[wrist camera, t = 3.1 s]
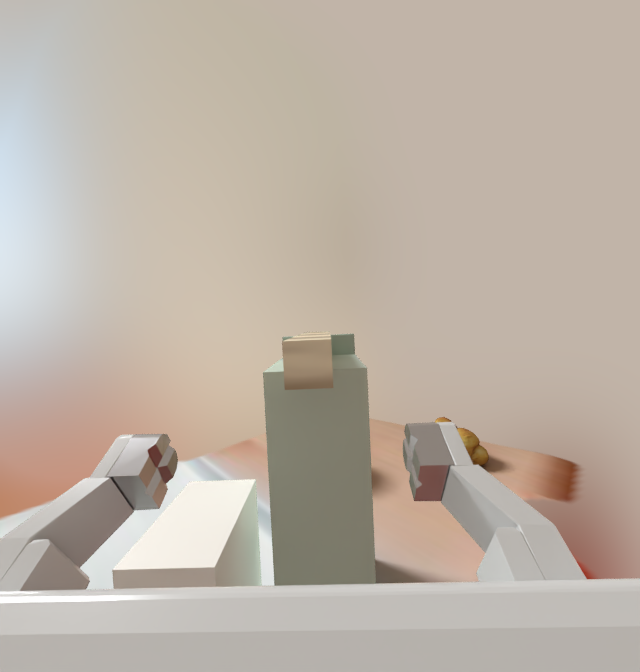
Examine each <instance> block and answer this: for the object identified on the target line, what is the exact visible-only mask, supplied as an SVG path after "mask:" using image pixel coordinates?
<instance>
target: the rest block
mask: <svg viewBox="0 0 640 672" xmlns="http://www.w3.org/2000/svg"><path fill="white" fill-rule="evenodd" d="M112 572H113V586H114V589H134V588H183V587H232V586H262V584H261V566H260V548H259V530H258V512H257V494H256V479H253V480H223V481H193V482H189V483H188V484H187V485H186V487H185V488H184V489H183V490H182V491H181V492H180V493H179V495H178V496H177V497H176V498H175V499H174V500H173V501H172V503H171V504H170V505H169V506H168V507H167V508H166V509H165V511H164V512H163V513H162V514H161V515H160V516H159V517H158V518H157V520H156V521H155V522H154V523H153V524H152V525H151V526H150V528H149V529H148V530H147V531H146V532H145V533H144V534H143V536H142V537H141V538H140V539H139V540H138V541H137V542H136V544H135V545H134V546H133V547H132V548H131V549H130V550H129V551H128V553H127V554H126V555H125V556H124V557H123V558H122V559H121V561H120V562H119V563H118V564H117V565H116V566H115V567H114V569H113V570H112Z"/></svg>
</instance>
